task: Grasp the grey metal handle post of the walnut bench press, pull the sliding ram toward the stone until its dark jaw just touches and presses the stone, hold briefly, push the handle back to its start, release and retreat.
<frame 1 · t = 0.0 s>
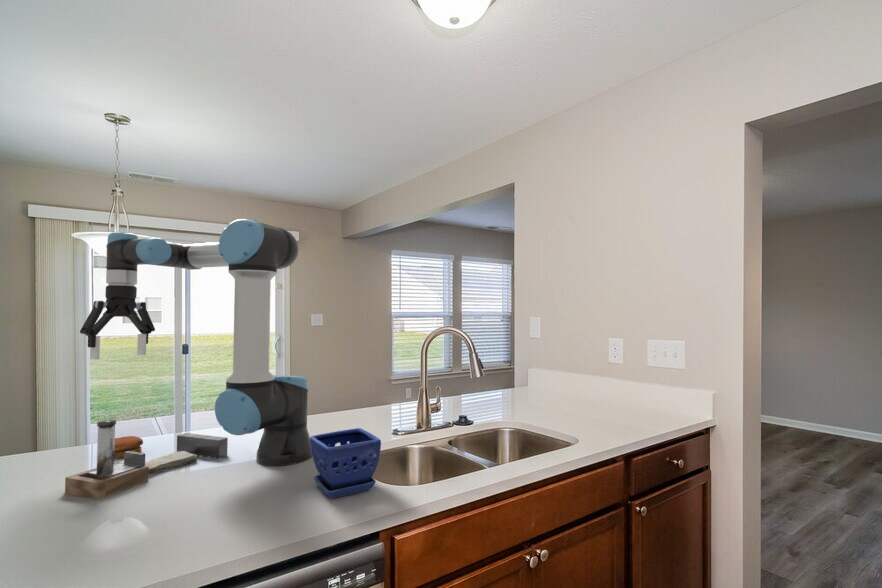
hand: (119, 357, 131), 28 cm above the countertop, fingers open, 13 cm apart
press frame: (111, 485, 105), on the countertop
flower pot: (344, 489, 104), on the countertop
stone: (170, 467, 120), on the countertop
burger: (122, 455, 129), on the countertop
grey rectangular bar: (201, 454, 129), on the countertop
ram: (118, 448, 107), point 8 cm above the countertop, slide at 0.0 cm
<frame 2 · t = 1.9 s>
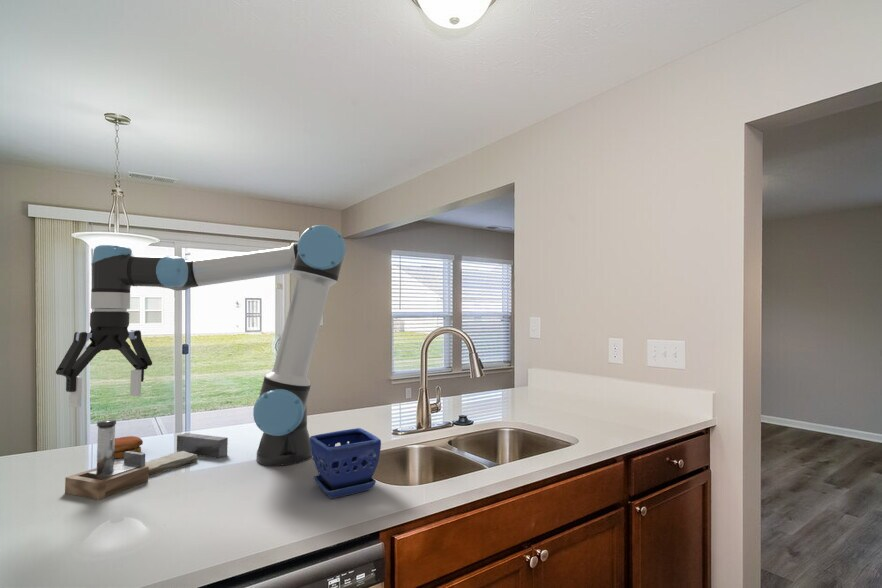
hand: (106, 400, 105), 20 cm above the countertop, fingers open, 13 cm apart
nothing on the countertop moved.
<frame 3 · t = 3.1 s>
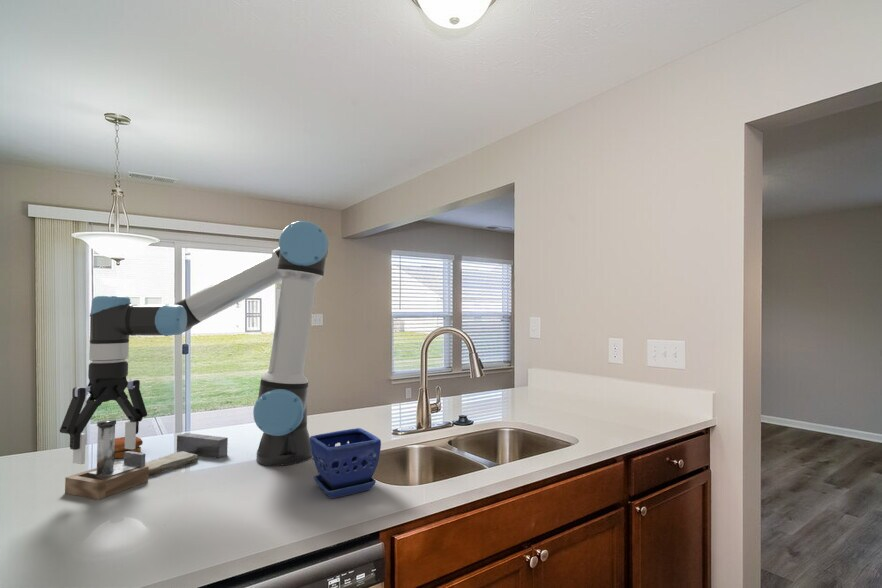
hand: (105, 455, 104), 7 cm above the countertop, fingers open, 11 cm apart
nothing on the countertop moved.
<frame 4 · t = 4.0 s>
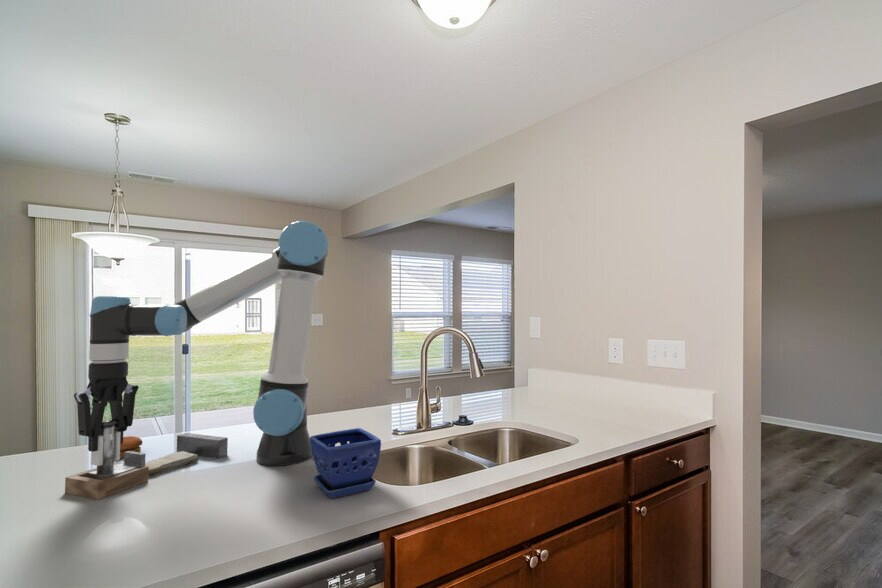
hand: (105, 461, 104), 6 cm above the countertop, fingers closed on ram, 3 cm apart
ram: (118, 448, 107), point 8 cm above the countertop, slide at 0.0 cm, touching gripper
everything else where it was.
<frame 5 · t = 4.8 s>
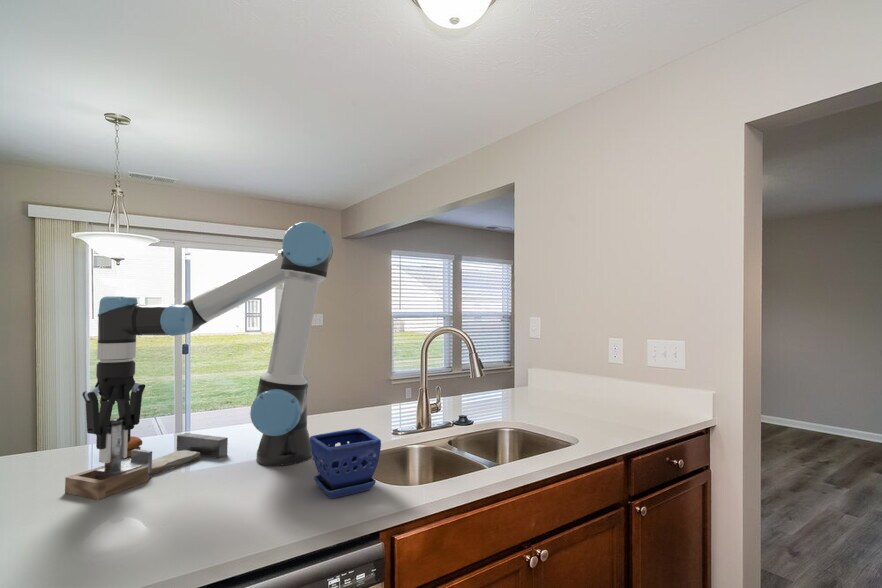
hand: (113, 459, 106), 6 cm above the countertop, fingers closed on ram, 3 cm apart
stone: (174, 466, 121), on the countertop
ram: (125, 446, 109), point 8 cm above the countertop, slide at 1.8 cm, touching gripper
everything else where it was.
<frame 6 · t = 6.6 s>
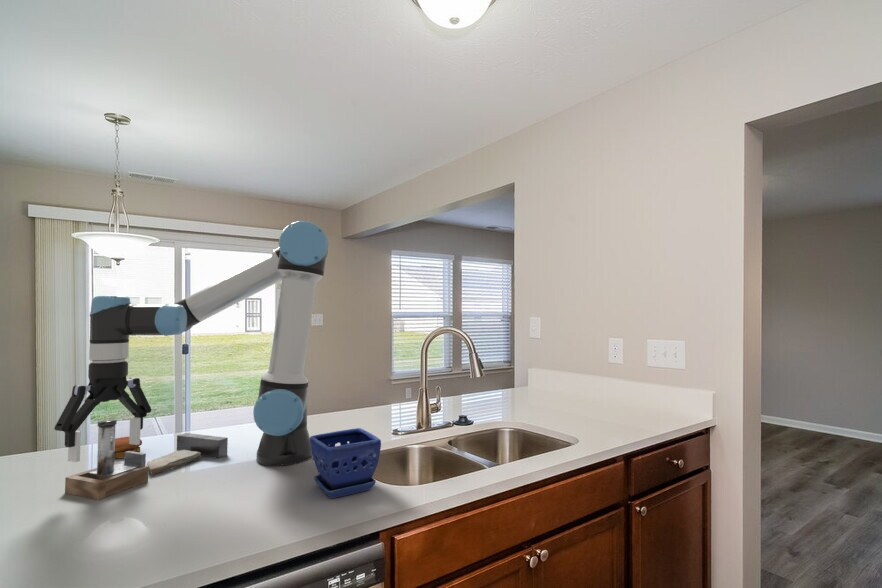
hand: (106, 452, 104), 8 cm above the countertop, fingers open, 13 cm apart
ram: (118, 448, 107), point 8 cm above the countertop, slide at 0.1 cm
everything else where it was.
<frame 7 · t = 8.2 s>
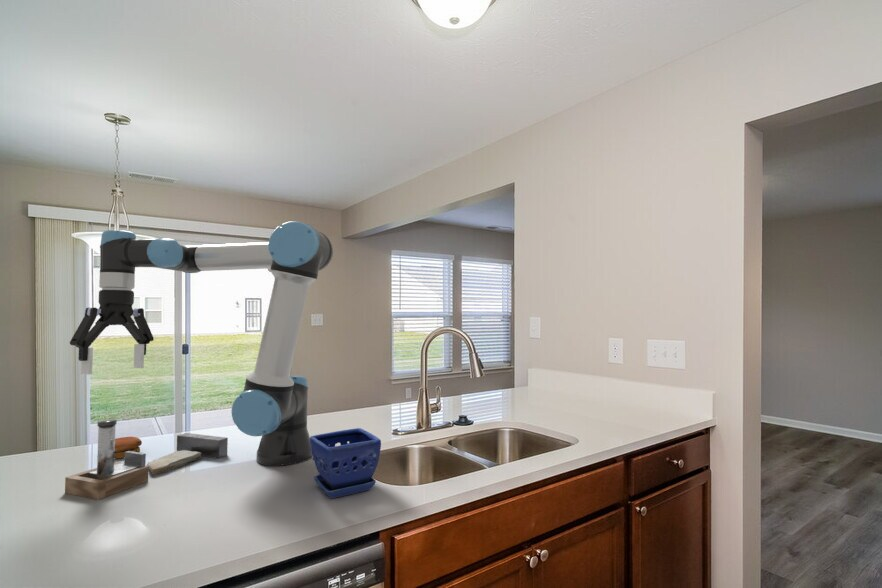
hand: (113, 370, 116), 26 cm above the countertop, fingers open, 13 cm apart
nothing on the countertop moved.
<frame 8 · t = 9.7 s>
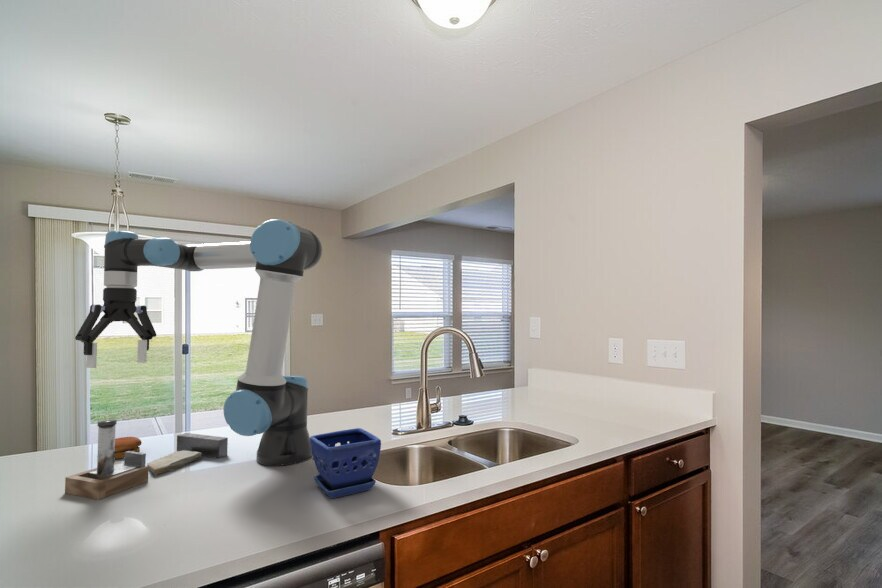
hand: (117, 365, 122), 27 cm above the countertop, fingers open, 13 cm apart
nothing on the countertop moved.
at the end: ram slide at 0.1 cm; stone moved 1.9 cm from its start; the gripper is holding nothing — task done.
